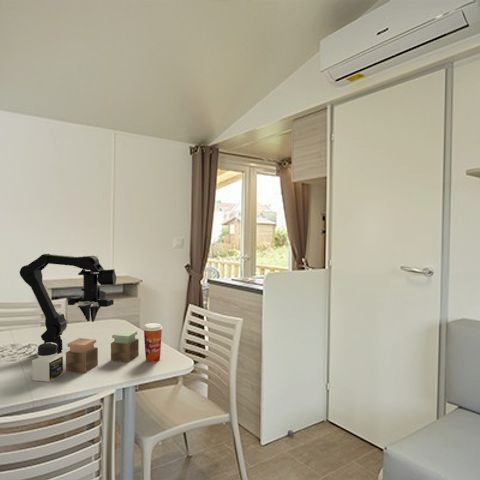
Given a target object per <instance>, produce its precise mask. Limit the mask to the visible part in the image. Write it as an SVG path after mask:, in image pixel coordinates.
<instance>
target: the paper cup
mask: <svg viewBox="0 0 480 480" xmlns="http://www.w3.org/2000/svg"><path fill="white" fill-rule="evenodd" d="M163 328H164V327H163V325H162V323H156V322H154V323H153V322H152V323H146V324H144V326H143V328H142V329H143V335H144V353H145V361H146V362H148V363H155V362H159V361H160V359H161V352H162V349H161V348H162V332H163V331H162V330H163Z"/></svg>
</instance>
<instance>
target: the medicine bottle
mask: <svg viewBox="0 0 480 480" xmlns="http://www.w3.org/2000/svg"><path fill="white" fill-rule="evenodd" d="M63 356H64V355H62V354H58V353H57V344H56V343H44V342H43V343H41V344H40V345H38V346H37V357H36V358H34V359H32V360H31V378H32V379H31V380H32V381H36V382H48V383H50V382H52V381H54V380H56V379H57V378H59V377H61V376H63V374H64V373H63V372H64V359H63V358H64V357H63Z"/></svg>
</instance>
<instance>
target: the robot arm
mask: <svg viewBox="0 0 480 480" xmlns="http://www.w3.org/2000/svg"><path fill="white" fill-rule="evenodd" d="M50 264H51V265H59V266H72V267H76V268H78V269H80V272H78V273H77V275H78V276H82V281H83V282H82V283H83V286H82V288H81V289H80V290H81V291H82V292H83V293H82V294H83V296H73V297H69V298H68V299H67V305H68V306H75V305H76V304H78V305H77V308H79V309H80V311H81V313H82V314H83V317H84V318H85V320H86V322H90V321H91V323H94V322H95V319H96V317H97V314H98V312H99V310H100V309H101V308H105V307H110V306H114V299H113V298H112V297H106V291H103V290H101V288H100V286H116V283H117V275H116V271H115V269H114V268H113V269H104V267H103V266H102V265H101V264H100V260H99V258H98V257H97V256H95V255H85V256H72V255H71V256H70V255H57V254H50V253H44V254H41V255H40V256H38V258H36V259H35V260H32V261H31V262H30V263H29V264H27V265H23V266H22V267H21V268H20V270H19V276H20V277H21V279H22V280H23V281H24V282H25V283H26V284H27V286H29V287H30V288H31V290H32V293H33V294H34V296H35V298H36V301H37V304H38V305H39V307H40V309H41V312H42V313H43V315H44V319H45V320H44V321H45V328H46V330H45V331H44V332H43V333H42V334H41V335H40V338H41V340H42V341H43V343H56V344H57V354H58V353H59V354H61V353H63V351H62V350H63V339H62V337H61V336H62V335H63V332H65V331H66V329H67V327H68V324H67V323H68V320H67V319H66V318H65V315H64V313H61V314H60V313H59V312H57V310H56V308H55V306H54V304H53V302H52V299H51V298H50V296H49V293H48V291H47V289H46V286H45V284H44V283H43V273H42V271H44V269H45V268H46V267H47V266H48V265H50ZM99 284H100V286H98V285H99Z"/></svg>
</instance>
